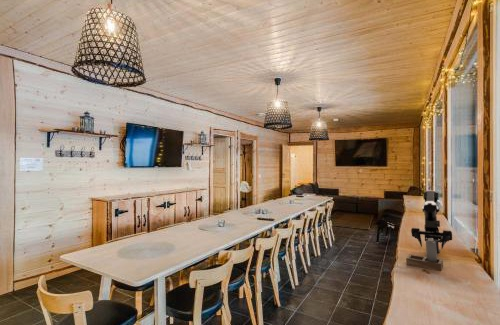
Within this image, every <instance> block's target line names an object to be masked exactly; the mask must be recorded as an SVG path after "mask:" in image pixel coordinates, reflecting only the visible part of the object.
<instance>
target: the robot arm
mask: <svg viewBox="0 0 500 325" xmlns="http://www.w3.org/2000/svg"><path fill="white" fill-rule="evenodd" d="M422 195H423V198H422V199H423V200H424V203H423V206H422V213H424V230H420V228H418V227H412V228H411V230H410V232H411V237H413V238H414V239H417V240H418V242H419V245H420V247H421V248H423V242H422V237H421V235H424V241H425V242H426V241H428V238H433V241H435V242H436V248H437V254H440V253H441V252H440V251H441V250H443V249H444V247H445V245H446V243H447V242H450V241H453V232H452V231H451V230H448V229H447V230H446V229H443V230H442V232H440V228H441V221H440V220H437V218H438V216H437V214H438V213H439V212H440V208H439V206H437V205H438V201H439V193H438V192H437V191H436V190H425V191H424V192H423V193H422ZM439 243H440V244H441V245H439ZM440 246H441V249H439V248H440Z"/></svg>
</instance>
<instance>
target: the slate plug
mask: <svg viewBox="0 0 500 325" xmlns="http://www.w3.org/2000/svg"><path fill="white" fill-rule="evenodd" d="M425 250H426V257H427V261H429V262H436V263H437V259H438V253H437V248H436V242H435V241H433V238H428V241H425Z"/></svg>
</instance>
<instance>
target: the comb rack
mask: <svg viewBox="0 0 500 325" xmlns="http://www.w3.org/2000/svg"><path fill="white" fill-rule="evenodd" d="M405 262H406V266H410V267H417V268H422V269H423V268H424V269H426V270H427V269H429V270H432V271H433V270H434V271H439V272H442V270H443V267H444V259H442V258H437V263H436V262H429V261H427V256H423V255H415V254H408V255H407V257H406V261H405Z"/></svg>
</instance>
